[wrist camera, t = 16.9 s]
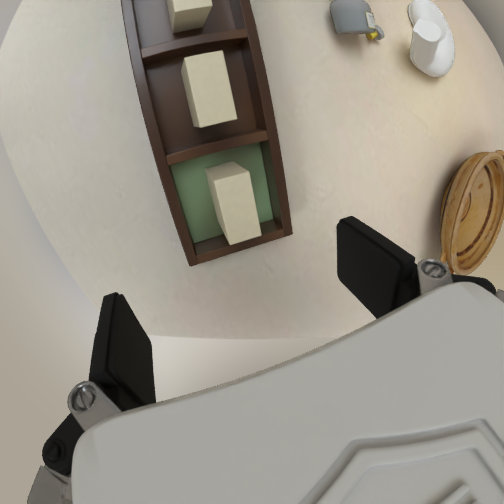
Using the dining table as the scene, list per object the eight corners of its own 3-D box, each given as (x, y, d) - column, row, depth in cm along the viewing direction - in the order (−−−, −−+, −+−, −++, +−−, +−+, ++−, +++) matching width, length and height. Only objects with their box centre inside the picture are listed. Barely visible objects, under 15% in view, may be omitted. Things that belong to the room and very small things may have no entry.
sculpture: (450, 40, 25) (485, 41, 18) (429, 94, 29) (470, 99, 23) (409, -12, 20) (445, -19, 13) (381, 37, 24) (425, 31, 17)
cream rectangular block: (218, 221, 29) (229, 245, 24) (204, 168, 26) (213, 181, 21) (244, 213, 30) (262, 235, 25) (233, 160, 27) (249, 171, 22)
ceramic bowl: (436, 282, 51) (460, 301, 44) (391, 236, 39) (426, 260, 32) (492, 179, 43) (517, 191, 36) (462, 105, 32) (497, 112, 25)
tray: (186, 251, 31) (189, 267, 28) (121, -15, 14) (117, -29, 11) (280, 222, 32) (292, 234, 29) (228, -34, 16) (236, -49, 13)
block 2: (193, 126, 24) (200, 127, 19) (180, 71, 21) (184, 57, 16) (223, 119, 25) (237, 119, 19) (211, 64, 22) (222, 50, 16)
